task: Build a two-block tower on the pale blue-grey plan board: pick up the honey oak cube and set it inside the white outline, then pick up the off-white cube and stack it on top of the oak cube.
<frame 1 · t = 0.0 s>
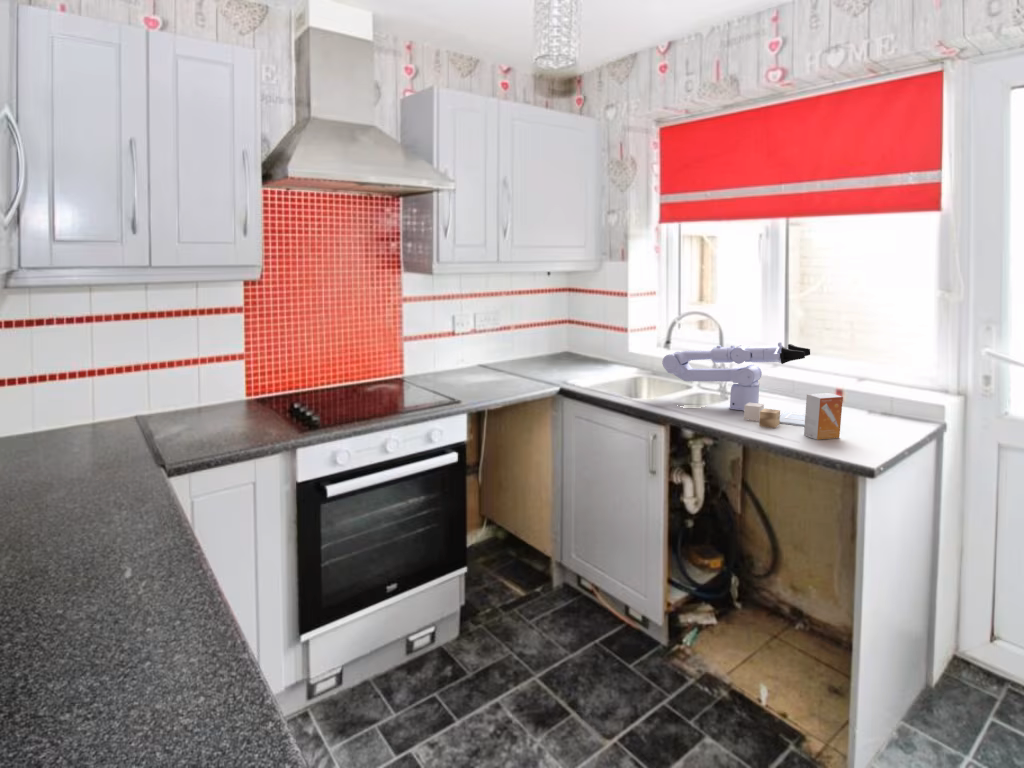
hand: (807, 353, 222), 22 cm above the countertop, tool horizontal, fingers open, 7 cm apart
base cube: (769, 425, 215), on the countertop
small box: (821, 437, 201), on the countertop
plan board: (797, 419, 221), on the countertop
top cube: (753, 418, 224), on the countertop
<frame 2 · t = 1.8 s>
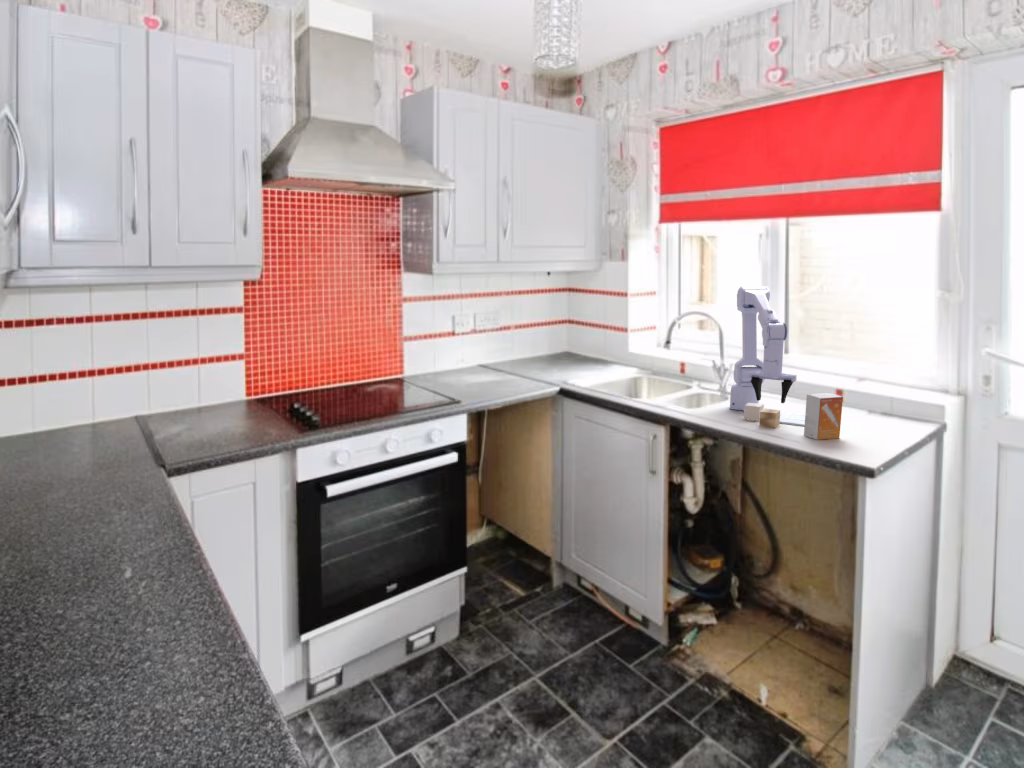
hand: (770, 401, 213), 8 cm above the countertop, tool pointing down, fingers open, 7 cm apart
nothing on the countertop moved.
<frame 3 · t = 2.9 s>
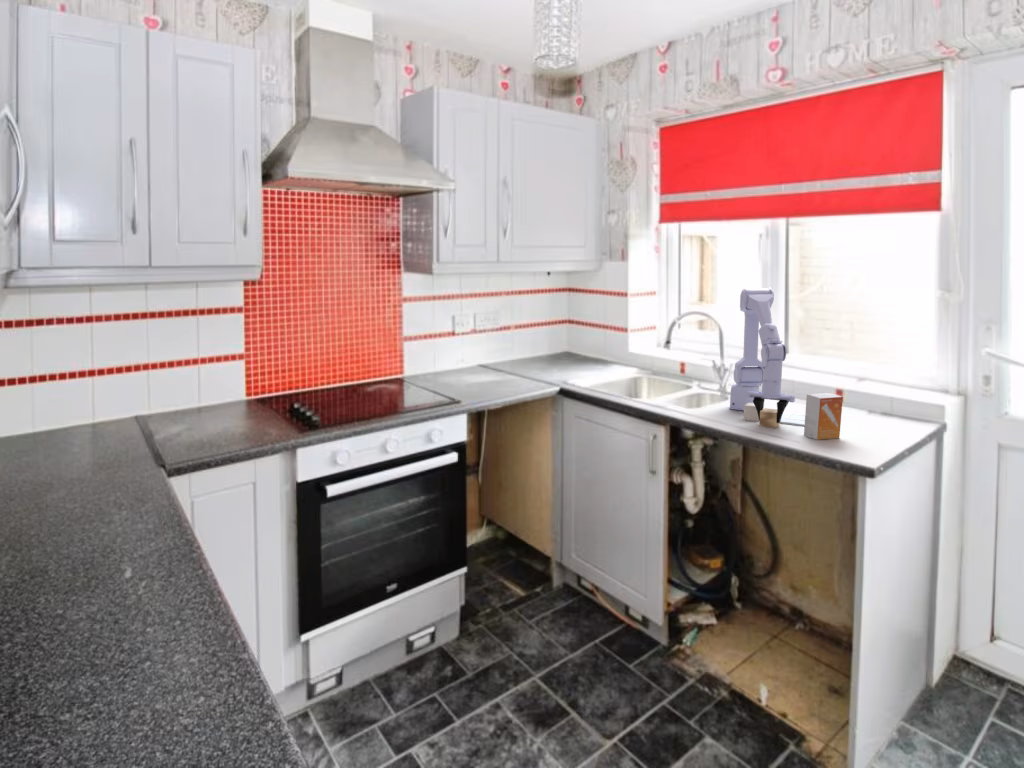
hand: (769, 421, 214), 1 cm above the countertop, tool pointing down, fingers closed on base cube, 5 cm apart
base cube: (769, 425, 215), on the countertop, touching gripper
everything else where it was.
when the fingers open (3 cm above the countertop, at t = 6.5 s): base cube drops 1 cm, resting on plan board.
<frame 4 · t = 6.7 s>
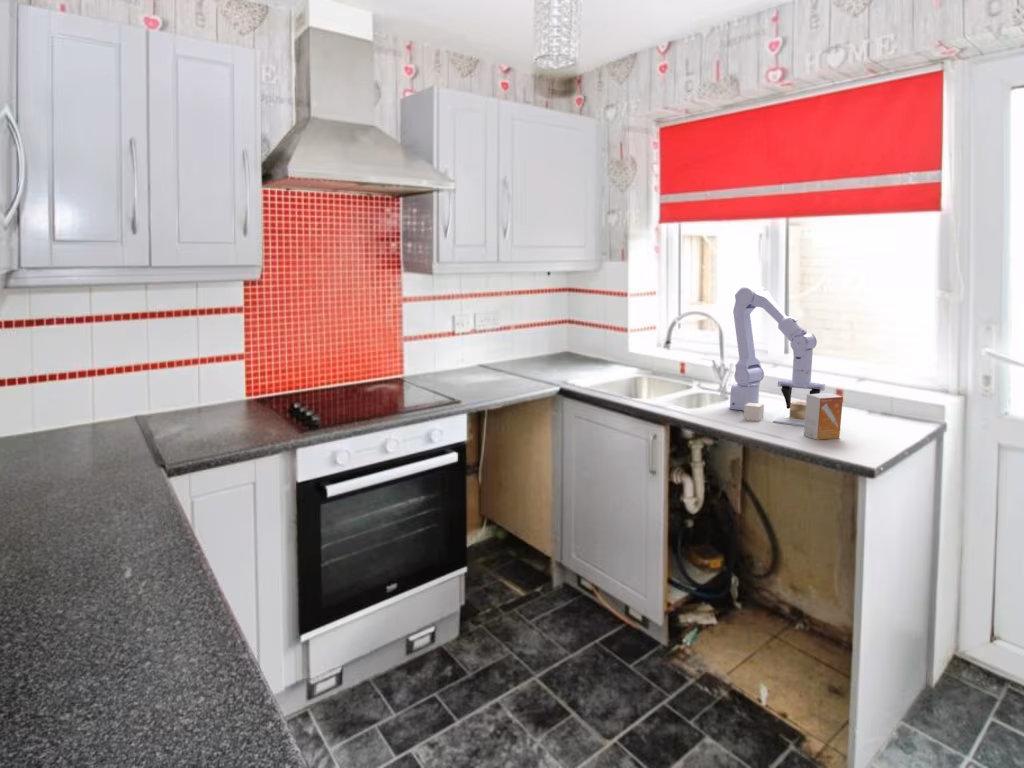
hand: (799, 409, 221), 3 cm above the countertop, tool pointing down, fingers open, 6 cm apart
base cube: (799, 417, 222), point 1 cm above the countertop, touching plan board
everything else where it was.
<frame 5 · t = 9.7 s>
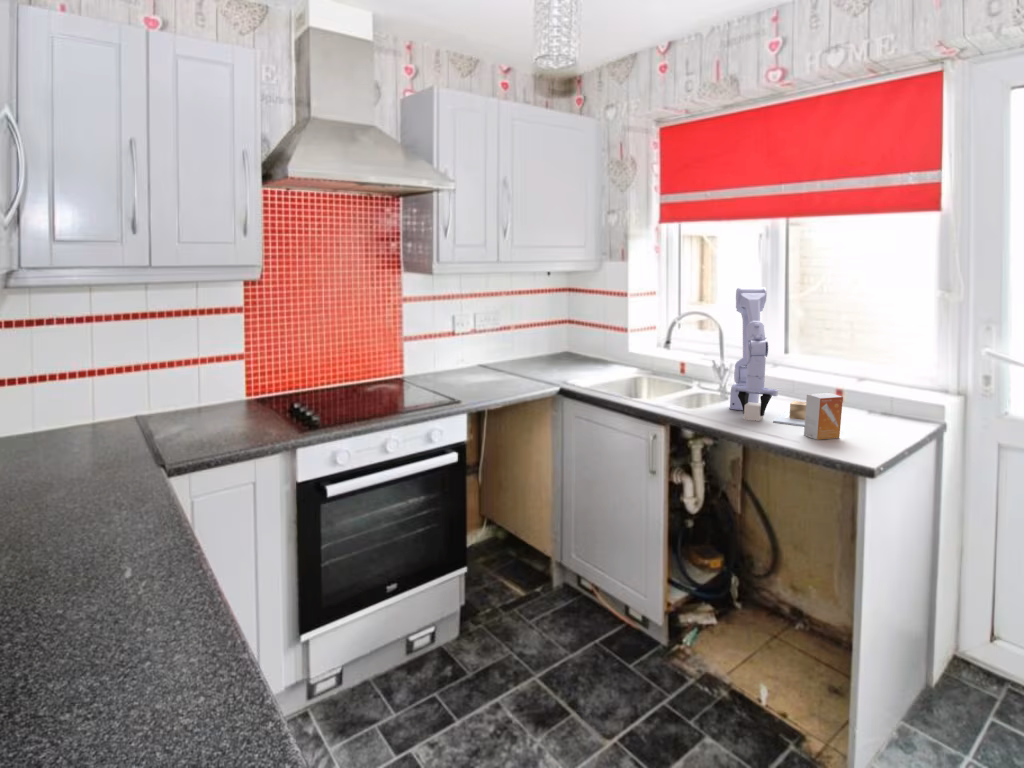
hand: (753, 414, 224), 1 cm above the countertop, tool pointing down, fingers closed on top cube, 5 cm apart
top cube: (753, 418, 224), on the countertop, touching gripper
everything else where it was.
when the fingers open (8 cm above the countertop, at t = 13.0 s): top cube drops 1 cm, resting on base cube.
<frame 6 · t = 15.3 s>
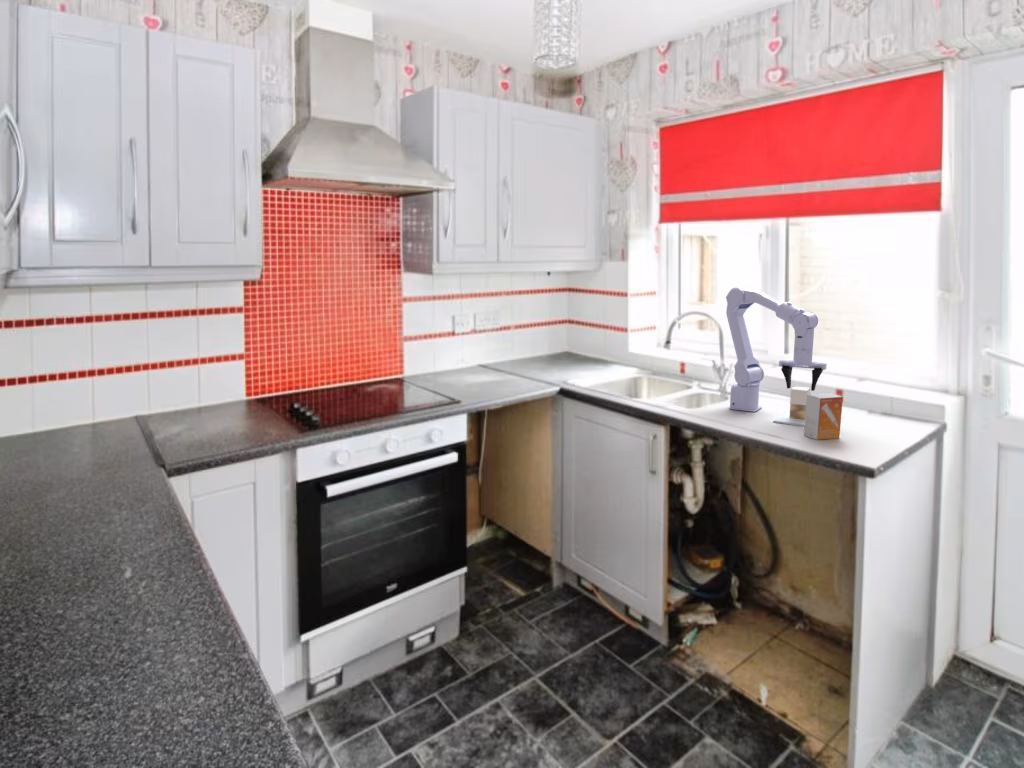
hand: (800, 389, 220), 10 cm above the countertop, tool pointing down, fingers open, 7 cm apart
base cube: (799, 417, 222), point 1 cm above the countertop, touching plan board, top cube
top cube: (799, 403, 221), point 6 cm above the countertop, touching base cube
everything else where it was.
at the end: base cube 0.1 cm from the target spot, point 0.6 cm above the countertop; top cube 0.1 cm off-centre on the base cube, point 5.0 cm above the base cube's base; top cube tilted 0° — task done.
